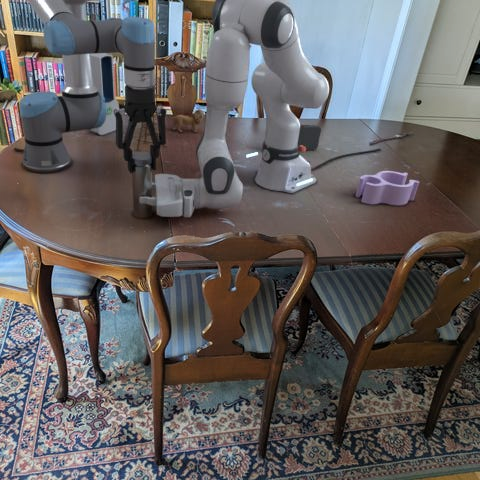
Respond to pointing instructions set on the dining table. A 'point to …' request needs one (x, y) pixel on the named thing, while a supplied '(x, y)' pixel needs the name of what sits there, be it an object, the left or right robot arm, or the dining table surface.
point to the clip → (386, 188)
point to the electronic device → (105, 89)
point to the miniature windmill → (146, 124)
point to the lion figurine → (189, 120)
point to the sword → (389, 138)
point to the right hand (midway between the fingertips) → (139, 193)
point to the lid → (142, 158)
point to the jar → (142, 189)
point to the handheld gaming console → (309, 136)
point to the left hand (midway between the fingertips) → (141, 169)
